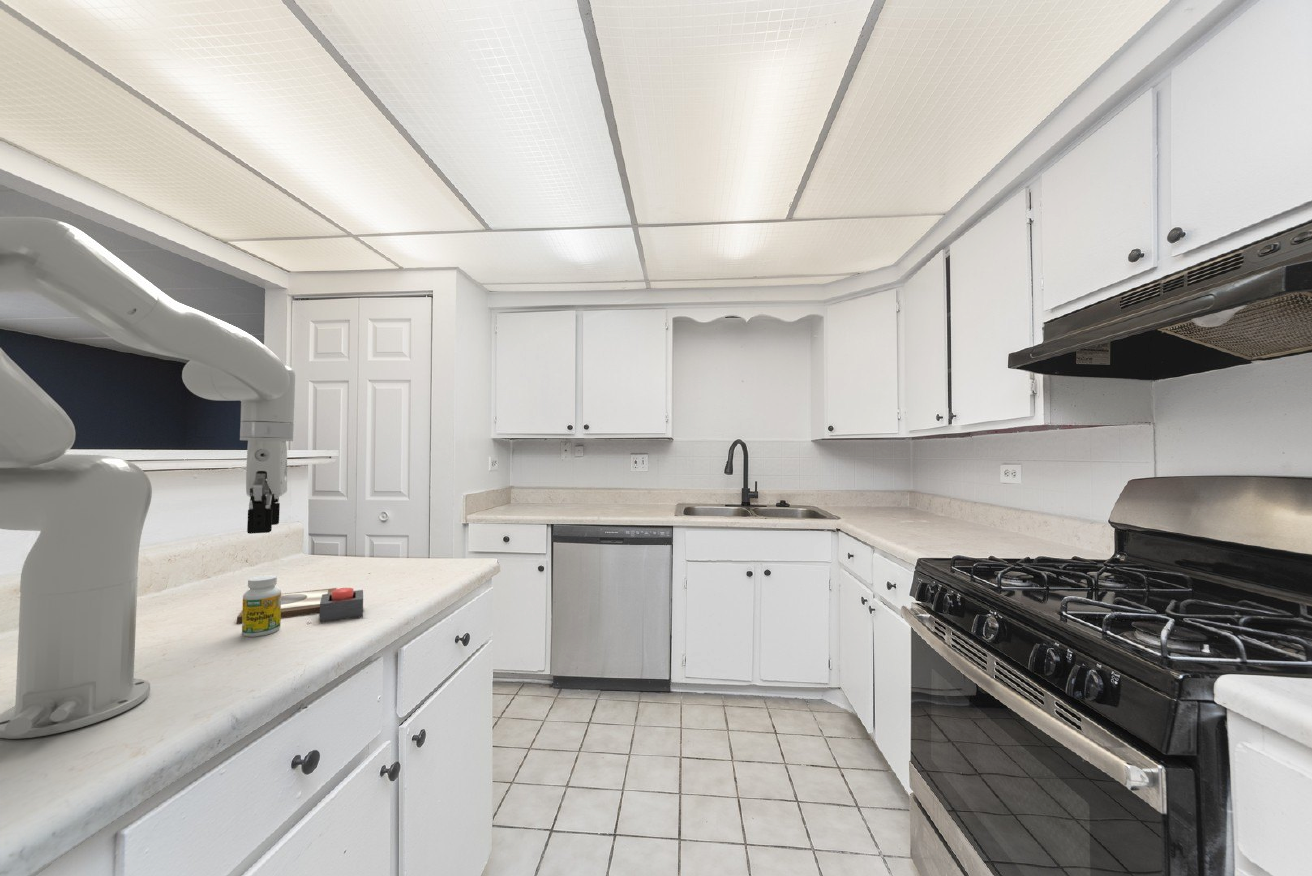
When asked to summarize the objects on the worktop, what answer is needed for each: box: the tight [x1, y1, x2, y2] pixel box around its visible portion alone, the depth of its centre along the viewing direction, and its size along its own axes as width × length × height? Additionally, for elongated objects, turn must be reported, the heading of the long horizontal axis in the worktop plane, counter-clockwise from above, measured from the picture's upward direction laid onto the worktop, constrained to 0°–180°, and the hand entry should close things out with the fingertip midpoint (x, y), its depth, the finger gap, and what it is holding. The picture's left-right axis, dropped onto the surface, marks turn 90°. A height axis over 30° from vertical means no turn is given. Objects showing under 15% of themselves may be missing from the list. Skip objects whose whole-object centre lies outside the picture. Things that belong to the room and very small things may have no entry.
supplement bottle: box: [241, 574, 282, 638], centre depth 88 cm, size 5×5×10 cm
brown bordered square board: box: [236, 587, 338, 624], centre depth 101 cm, size 14×15×2 cm
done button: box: [332, 587, 354, 601], centre depth 97 cm, size 4×4×2 cm
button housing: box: [318, 589, 364, 624], centre depth 97 cm, size 7×7×4 cm
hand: (264, 528), depth 88 cm, fingers open, 9 cm apart
